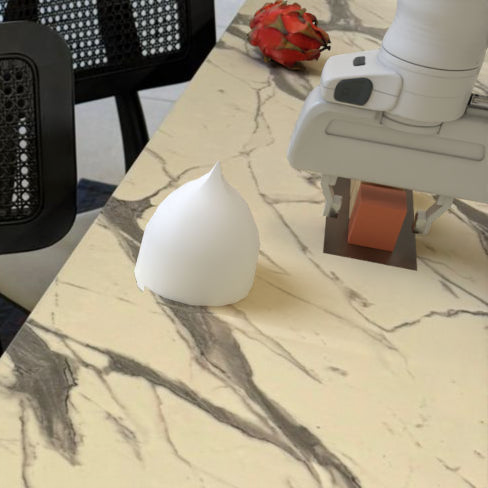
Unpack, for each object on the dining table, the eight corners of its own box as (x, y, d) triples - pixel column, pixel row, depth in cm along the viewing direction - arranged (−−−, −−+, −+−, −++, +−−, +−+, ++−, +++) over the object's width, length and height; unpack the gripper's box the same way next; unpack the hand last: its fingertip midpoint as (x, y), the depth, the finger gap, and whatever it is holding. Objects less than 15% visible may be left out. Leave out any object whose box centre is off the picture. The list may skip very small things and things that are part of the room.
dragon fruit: (236, 59, 145) (311, 95, 142) (227, 36, 137) (306, 73, 134) (269, 3, 143) (345, 38, 140) (262, -24, 135) (342, 12, 132)
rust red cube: (392, 231, 104) (406, 191, 101) (392, 252, 101) (407, 211, 98) (348, 223, 105) (361, 183, 102) (347, 243, 101) (360, 202, 99)
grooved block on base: (409, 182, 115) (425, 137, 112) (414, 277, 99) (433, 229, 96) (328, 167, 116) (341, 123, 113) (320, 259, 100) (335, 211, 97)
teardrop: (251, 322, 91) (285, 197, 83) (128, 303, 92) (150, 178, 84) (252, 261, 99) (282, 142, 91) (138, 244, 100) (159, 125, 92)
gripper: (536, 92, 93) (479, 229, 103) (311, 54, 96) (275, 191, 106) (544, 118, 89) (483, 258, 98) (307, 78, 92) (270, 218, 101)
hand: (373, 223), depth 102 cm, fingers open, 7 cm apart
